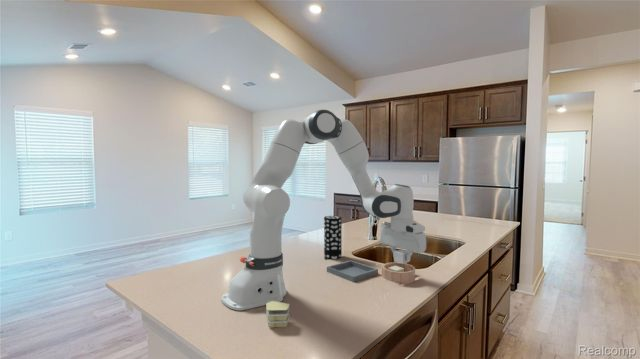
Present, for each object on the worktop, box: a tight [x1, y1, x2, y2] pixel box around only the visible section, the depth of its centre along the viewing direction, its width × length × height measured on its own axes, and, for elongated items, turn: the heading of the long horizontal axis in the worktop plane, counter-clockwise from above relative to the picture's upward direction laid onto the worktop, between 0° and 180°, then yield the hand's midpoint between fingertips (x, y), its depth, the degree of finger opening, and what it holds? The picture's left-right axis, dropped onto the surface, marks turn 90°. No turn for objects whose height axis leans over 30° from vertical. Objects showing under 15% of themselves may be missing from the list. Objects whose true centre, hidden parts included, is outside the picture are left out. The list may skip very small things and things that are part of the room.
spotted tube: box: [323, 215, 343, 261], centre depth 159 cm, size 8×8×20 cm
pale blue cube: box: [393, 249, 411, 264], centre depth 133 cm, size 4×4×4 cm
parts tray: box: [326, 260, 379, 283], centre depth 137 cm, size 14×16×3 cm
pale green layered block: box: [265, 301, 291, 328], centre depth 96 cm, size 10×9×6 cm
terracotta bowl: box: [381, 261, 416, 285], centre depth 132 cm, size 13×13×4 cm
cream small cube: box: [388, 266, 404, 272], centre depth 131 cm, size 4×4×4 cm
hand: (401, 258), depth 133 cm, fingers closed on pale blue cube, 4 cm apart
